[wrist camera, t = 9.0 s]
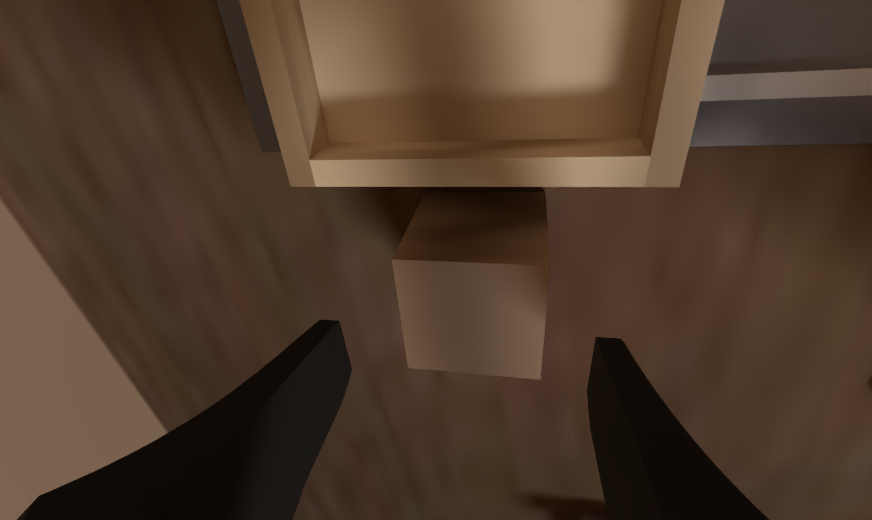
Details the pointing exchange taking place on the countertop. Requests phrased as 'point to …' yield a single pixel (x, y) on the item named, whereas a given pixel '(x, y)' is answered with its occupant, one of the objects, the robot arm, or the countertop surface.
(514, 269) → the part block
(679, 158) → the shallow wooden tray
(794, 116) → the rail base
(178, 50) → the countertop surface
